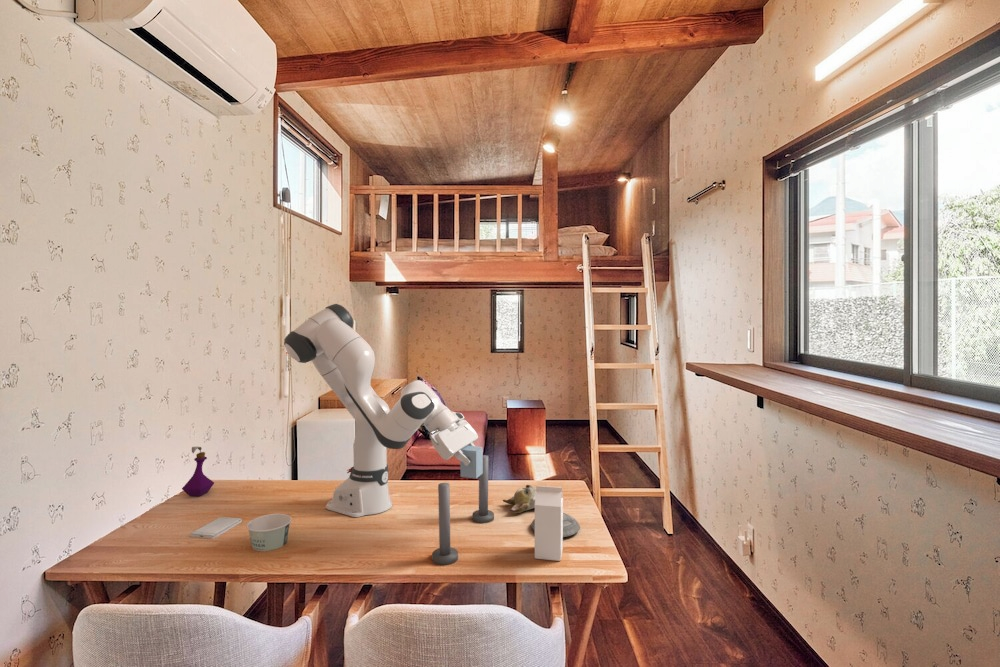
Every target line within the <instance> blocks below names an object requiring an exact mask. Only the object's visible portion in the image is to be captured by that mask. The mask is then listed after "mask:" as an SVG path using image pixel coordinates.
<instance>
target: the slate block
mask: <svg viewBox="0 0 1000 667" xmlns="http://www.w3.org/2000/svg"><path fill="white" fill-rule="evenodd" d="M483 448H484V447H483V446H478V445H477V446H476V445H475V446H468V445H467V446H466V447H464V448H462V449H461V451H462V452H463V454H464V455H465V456H466V457H469V458H470V459H471V463H470V464H469V465H467V466H466V465H465V464H464V463H463V462H462V461H460V460H459V463H460V465H459V466H460V467H459V468H460V477H461V478H468V479H474V480H475V479H479V476H480V475H481V474H483V455H484V454H483V453H484V449H483Z"/></svg>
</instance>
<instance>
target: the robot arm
mask: <svg viewBox="0 0 1000 667" xmlns="http://www.w3.org/2000/svg"><path fill="white" fill-rule="evenodd" d="M354 323H355V322H354V319H353V317H352V314H351V313H350V312H349V310H348V309H347V308H346V307H345V306H343V305H342V304H338V303H333V304H330V305H328V306H326V307H325V308H324V309H323V310H321V311H318V312H317V313H315V314H313V315H312V316H311V315H310V317H308V319H307V320H305V321H304V322H302V323H301V324H300V325H298V327H296V328H295V329H294V330H292V331H290V332H289V333H288V334H287V335H286V336H285V338H284V341H283V344H284V348H285V349H286V352H287V354H288V355H289V356H290V358H292V359H294V360H295V361H296V362H298V363H300V364H305V363H309V362H312V364H313V366H314V367H315V369H316V370H317V372H318V373H319V374H320V375H321V377H322V379H323V380H324V381H325V382H326V384H327V385H328V386H329V387H330V389H331V390H332V392H333V393H334V394H335V395H336V396H337V398H338V399H339V401H340V402H341V403H342V405H343V406H344V407H345V408H346V410H347V411H348V413H349V414H350V415H351V416H352V418H353V419H354V421H355V432H354V440H353V466H352V467H350V468H349V469H347V470H346V471H347V472H346V474H349V473H350V474H349V475H348V476H349V477H348V478H346V479H345V480H343V482H342V483H339V485H338V486H337V487H336V488H335V489H334V491H333V496H332V499H331V500H329V501H328V502H327V503H326V505H325V509H326V510H329V511H332V512H336V513H339V514H343V515H344V516H345V515H346V516H349V517H352V518H359V517H363V516H369V515H377V514H380V513H384V512H386V511H388V510H389V509H392V506H393V502H392V499H391V494H390V492H389V491H390V489H389V465H388V462H387V461H388V460H387V459H388V454H387V453H388V451H387V450H388V449H391V450H400V449H403V448H405V447H406V445H407V444H408V442H409V441H410V439H411V438H412V436H413V435H415V433H416V432H417V431H418V430H419V429H420V427H421V426H422V425H424V427H425V429H426V430H427V431H428V432H429V439H430V440H431V441H430V442H431V445H432V446H433V448H434V449H435V451H436V452H437V453H438V455H439V456H440V457H441V458H442V459H443V460H445V461H448V460H450V459H451V458H453V457H455V459H456V460H458V461H459V462H460V461H462V462H463V463H464V464H465V465H466V466H467V465H469V464H470V463H471V459H470V458H469V457H466V456H465V455H464V454H463V452H462V451H461V449H462V448H464V447H466V446H467V445H468V446H476V445H475V444H474V443H475V442H477V441H478V439H479V435H478V432H476V429H475V428H474V427H472V425H471V424H470V423H469V422H468V421H467V420H466V419H465V416H464V415H463V413H461V412H456V411H453V410H450V408H449V407H448V406H447V405H445V404H444V403H443V402H442V400H441V397H440V396H438V394H437V393H436V392H435V391H434V390H433V389H432V388H431V386H429V385H427V383H425V382H424V381H422V380H420V379H417V380H416V379H415V380H412V381H411V382H409V383H407V384H406V385H405V386H404V387H403V388H402V390H401V391H400V397H399V399H398V400H397V401H396V402H395V404H394V405H393V406H392V408H391V409H390V407H389V405H388V403H387V402H386V401H385V400H384V399H383V398H381V397H380V396H379V395H378V394H377V393H376V391H375V390H374V389H373V387H372V386H371V382H372V375H373V371H374V368H375V366H376V365H375V364H376V356H375V352H374V350H373V348H372V347H371V345H370V344H369V343H368V342H367V341H366V340H365V339H364V338H363V337H362V336H361V335H360V334H359V333H358V332H357V331H356V330H355V329H354Z"/></svg>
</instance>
